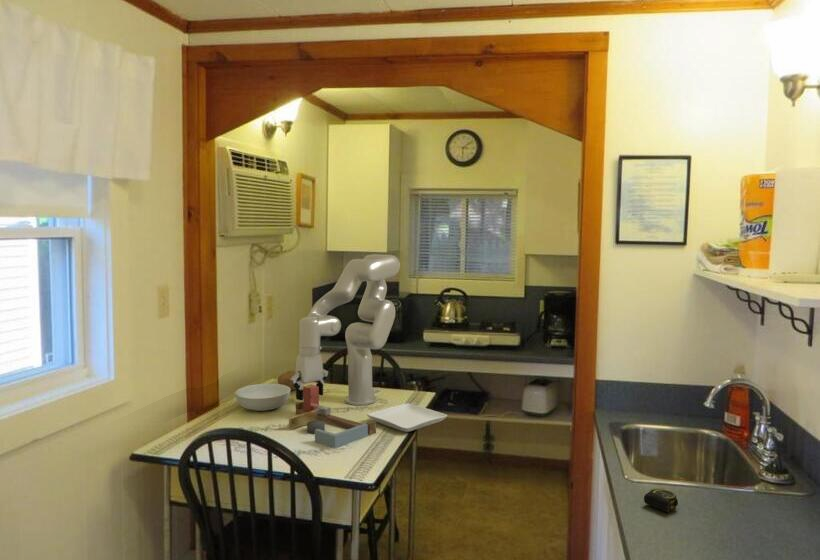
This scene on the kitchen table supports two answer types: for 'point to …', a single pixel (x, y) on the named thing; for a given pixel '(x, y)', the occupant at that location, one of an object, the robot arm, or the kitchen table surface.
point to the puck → (315, 426)
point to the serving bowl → (263, 396)
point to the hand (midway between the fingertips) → (309, 397)
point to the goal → (341, 436)
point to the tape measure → (661, 499)
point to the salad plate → (407, 417)
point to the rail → (338, 420)
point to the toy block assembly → (309, 407)
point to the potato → (287, 379)
